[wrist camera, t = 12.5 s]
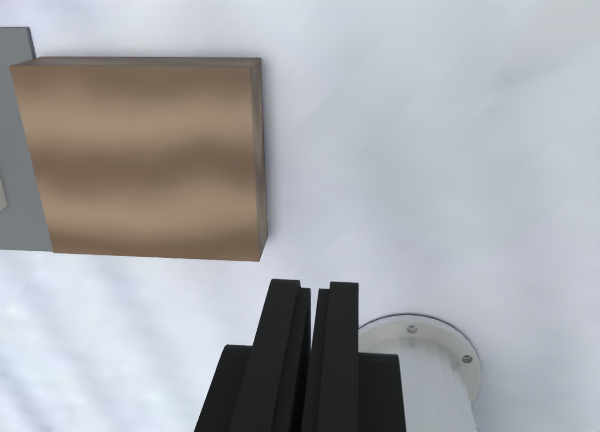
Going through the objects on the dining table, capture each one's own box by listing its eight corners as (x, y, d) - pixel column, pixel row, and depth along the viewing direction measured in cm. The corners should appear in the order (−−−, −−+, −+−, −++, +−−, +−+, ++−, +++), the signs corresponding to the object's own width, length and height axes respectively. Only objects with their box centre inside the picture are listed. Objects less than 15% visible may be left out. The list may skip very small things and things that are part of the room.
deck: (267, 236, 43) (259, 261, 39) (78, 229, 44) (53, 252, 41) (260, 57, 37) (249, 67, 33) (41, 56, 38) (8, 65, 35)
